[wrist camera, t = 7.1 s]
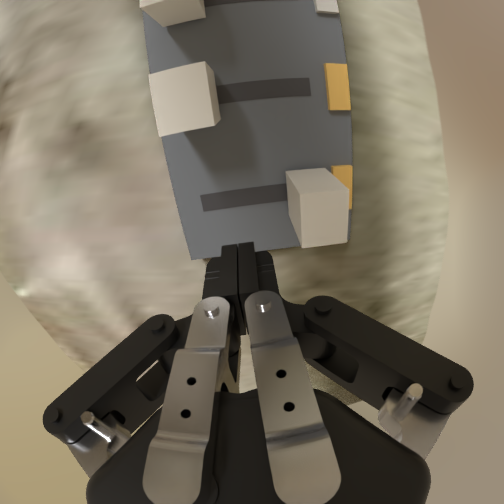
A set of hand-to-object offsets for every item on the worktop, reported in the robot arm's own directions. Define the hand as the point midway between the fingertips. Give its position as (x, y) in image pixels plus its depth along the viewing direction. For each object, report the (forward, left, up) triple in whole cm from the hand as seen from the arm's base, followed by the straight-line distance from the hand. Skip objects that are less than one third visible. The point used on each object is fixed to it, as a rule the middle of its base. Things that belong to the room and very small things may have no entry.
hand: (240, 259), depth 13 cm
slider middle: (-8, -2, -8) cm, 12 cm away
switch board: (-8, +2, -11) cm, 13 cm away
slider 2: (0, +5, -8) cm, 10 cm away
